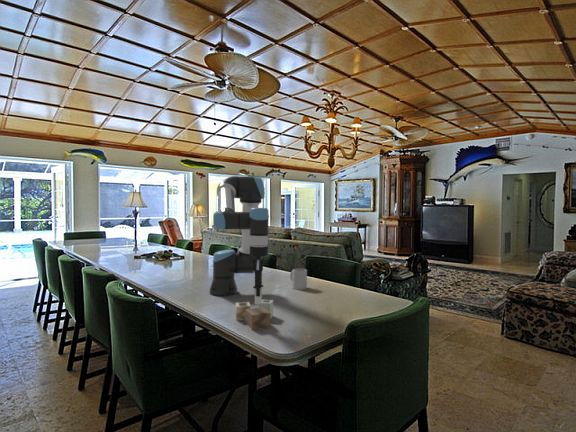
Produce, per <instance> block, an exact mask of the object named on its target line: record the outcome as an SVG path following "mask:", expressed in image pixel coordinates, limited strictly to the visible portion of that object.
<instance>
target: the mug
mask: <svg viewBox="0 0 576 432" xmlns="http://www.w3.org/2000/svg"><path fill="white" fill-rule="evenodd" d="M289 277H290V281H291V283H292V286H291V287H292V289H293V290H297V291H298V290H299V291H301V290H302V291H303V290H307V288H308V287H307V286H308V285H307V284H308V282H307V281H308V270H307V269H306V268H301V267H300V268H293V269H292V270H291V272H290V275H289Z"/></svg>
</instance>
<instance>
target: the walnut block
mask: <svg viewBox="0 0 576 432" xmlns="http://www.w3.org/2000/svg"><path fill="white" fill-rule="evenodd" d="M271 320H272V318H271V313H270V312H269V311H268V310H266V309H265V308H264V307H262V308H259V307H255V308H251V309H245V320H244V323H246V324H247V325H248V326H249V327H250V328H251V329H255V330H259V328H262V329H267V327H268V328H271V326H272V325H271V324H272V321H271ZM246 324H245V325H246ZM247 325H246V326H247ZM248 326H247V327H248ZM249 327H248V328H249ZM250 328H249V329H250ZM251 329H250V330H251Z"/></svg>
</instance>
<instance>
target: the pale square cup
mask: <svg viewBox="0 0 576 432" xmlns="http://www.w3.org/2000/svg"><path fill="white" fill-rule="evenodd" d="M262 307H264V308H265V309H266V310H268V311H269V312H270V313H271V319H272V318H273V316H274V300H273V299H262V303H261V304H258V308H262Z"/></svg>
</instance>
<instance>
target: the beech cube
mask: <svg viewBox="0 0 576 432" xmlns="http://www.w3.org/2000/svg"><path fill="white" fill-rule="evenodd" d="M251 306H252V305H251V304H250V301H243V302H235V315H236V316H235V321H236V320H237V321H242V320H241V319H245V309H252V307H251Z"/></svg>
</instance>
